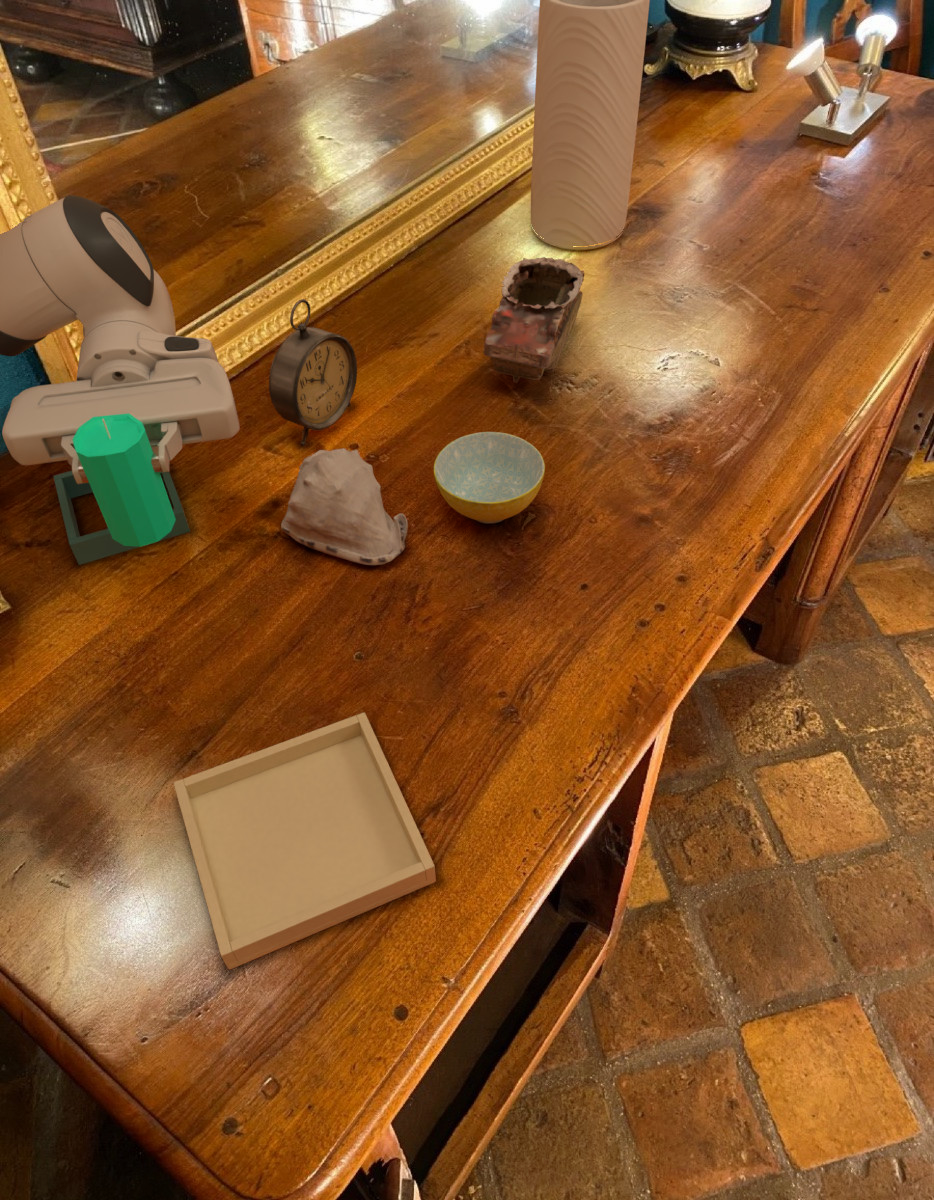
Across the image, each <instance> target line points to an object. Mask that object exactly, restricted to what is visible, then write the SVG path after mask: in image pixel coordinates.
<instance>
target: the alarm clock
mask: <svg viewBox="0 0 934 1200" xmlns="http://www.w3.org/2000/svg"><path fill="white" fill-rule="evenodd" d="M302 303H304V304H305V305H306V307H307V308H306V309H307V316H306V319H305V322H300V323H299V324H298V325H297V327H296V326H295V324H294V315H295V311H296V308H297V307H298V306H299V305H300V304H302ZM310 318H311V306H310V303H309V301H308V300H307V299H304V298H302V299H299V300H298V301H296V302H295V304H294V305H293V307H292V309H291V311H290V316H289V322H290V326H291V328H292V329H293V330H295V331H294V332H292V333H290V335H288V337H286V339H284V340H283V342H282V343H281V344H280V346H279V347H278V349H277V351H276V352H275V355H274V357H273V359H272V362H271V366H270V369H269V377H268V390H269V391H268V392H269V396H270V400H271V403H272V405H273V408H274V409H275V411H276V412H277V414H278V415H279V416H280V417H281V418H282V419H284V420H285V421H287V422H290V423H293V424H295V425H298V426H301V427H302V431H301V441H300V446H301V447H305V446H306V445H307V442H306V440H307V439H308V436H309V432H310V430H311V431H322V430H326V429H327V428H330V427H331V426H332V425H334V424H335V423H336V422H338V420H339V419H340V418H341V417H342V416H343V414H344V413H345V412H346V410H347V409H348V408H350V407H351V400H352V398H353V395H354V394H355V389H356V386H357V379H358V363H357V357H356V354H355V351H354V347H353V346H352V344H351V343H350V341H349V340H348V339H347V338H346V337H344V336H343V335H341V334H338V333H333V332H330V331H327V330H324V329H321V328H317V327H313V326H307V324H308V323H309V321H310Z"/></svg>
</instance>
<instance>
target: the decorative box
mask: <svg viewBox="0 0 934 1200" xmlns="http://www.w3.org/2000/svg"><path fill="white" fill-rule="evenodd" d="M580 269H581V268H579V267H578V266H577V265H575V264H574V263H572V262H569V261H565V260H564V259H561V258H557V259H556V258H554V257H545V256H543V257H536V258H530V259H528V258H525V257H523V259H522V260H520V261H517V262H515V263H514V264H512V265H510V268H509V271H507V272H506V275H504V276H503V280H502V281H501V284H502V285H501V295H502V297H501V300H500V301H499V305H498V308H496V309H495V310H494V312H493V313H492V317H491V323H490V330H488V332H487V333H486V334H485V336H486V337H485V339H484V346H483V351H482V352H483V353H482V354H483V355H484V356H486V357H489V358H490V361H491V362H492V364H493V367H494V369H495V372H497V373H499V374H503V375H507V376H512V381H513V382H514V383H518V382H519V380H520V379H521V378H522V379H527V380H531V381H539V380H541V378H542V377H543V375H544V372H548V373H553V372H554V371H555V369H556V367H557V365H558V362H559V360H560V358H561V355H562V353H563V350H564V349H565V347H566V343H567V341H568V339H569V336H570V334H571V332H572V330H573V328H574V326H575V325H574V324H575V323H576V320H577V316H578V313H579V310H580V307H581V304H582V299H583V291H581V287H582V286H583V282H584V278H585V270H580Z"/></svg>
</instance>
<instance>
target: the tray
mask: <svg viewBox="0 0 934 1200" xmlns="http://www.w3.org/2000/svg"><path fill="white" fill-rule="evenodd" d="M399 786H400V785H399V784H398V782H397V780H396V777H395V776H394V773H393V771H392V768H391V767H390V765H389V762H388V760H387V758H386V755H385V754H384V751H383V749H382V747H381V744H380V742H379V740H378V737H377V736H376V734H375V731H374V729H373V727H372V725H371V722H370V721H369V718H368V716H367V714H366V712H365V711H364V712H361V713H358V714H355V715H353V716H349V717H348V718H345V719H342V720H339V721H337V722H333V723H331V724H328V725H326V726H323V727H321V728H320V727H319V728H317V729H315V730H312V731H309V732H306V733H304V734H300V735H298V736H295V737H293V738H290V739H287V740H285V741H282V742H279V743H277V744H274V745H271V746H268V747H266V748H263V749H261V750H258V751H254V752H252V753H249V754H247V755H244V756H241V757H238V758H235V759H232V760H230V761H228V762H225V763H222V764H220V765H217V766H214V767H211V768H208V769H206V770H203V771H200V772H198V773H195V774H192V775H190V776H187V777H185V778H181V779H179V780H175V781H173V787H174V790H175V791H174V792H175V794H176V798H177V801H178V805H179V809H180V813H181V816H182V820H183V823H184V827H185V830H186V834H187V838H188V841H189V845H190V849H191V852H192V857H193V859H194V863H195V866H196V870H197V874H198V877H199V882H200V885H201V889H202V892H203V896H204V900H205V903H206V907H207V910H208V914H209V918H210V921H211V925H212V928H213V931H214V935H215V940H216V944H217V947H218V950H219V954H220V957H221V958H222V960H223V962H224V964H225V966H226V967H227V969H228V970H229V971H230V970H233V969H234V968H235V969H236V968H237V967H240V966H242V965H244V964H246V963H249V962H251V961H253V960H256V959H258V958H261V957H263V956H266V955H267V954H270V953H272V952H274V951H277V950H280V949H281V948H284V947H286V946H289V945H291V944H294V943H296V942H298V941H300V940H303V939H305V938H308V937H310V936H312V935H314V934H317V933H319V932H321V931H324V930H327V929H329V928H332V927H333V926H336V925H338V924H340V923H343V922H345V921H347V920H350V919H352V918H354V917H356V916H359V915H361V914H364V913H366V912H369V911H370V910H373V909H376V908H377V907H380V906H382V905H385V904H387V903H390V902H393V901H394V900H397V899H400V898H401V897H405V896H406V895H409V894H411V893H413V892H416V891H417V890H418V891H419V890H420V889H423V888H425V887H428V886H429V885H432V884H434V883H436V882H437V878H436V867H435V864H434V861H433V859H432V856H431V855H430V852H429V850H428V848H427V846H426V843H425V841H424V839H423V837H422V835H421V832H420V830H419V828H418V825H417V824H416V822H415V820H414V817H413V814H412V813H411V811H410V809H409V806H408V804H407V802H406V800H405V798H404V797H405V796H404V795H403V792H402V791H401V788H400V787H399Z"/></svg>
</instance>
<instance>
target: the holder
mask: <svg viewBox="0 0 934 1200" xmlns="http://www.w3.org/2000/svg"><path fill="white" fill-rule="evenodd" d="M160 475H161V478H162V480H163V483H164V486H165V489H166V492H167V494H168V497H169V500H170V503H171V506H172V510H173V513H174V516H175V519H176V521H175V523H174V525H173V528H172V530H171V532H170V533H168V534H167V535H166V536H164V537H163V538H162V539H161V540H159V541H158V542H162V541H165V540H168V539H172V538H175V537H179V536H181V535H185V534H188V533H190V532H191V530H190V529H191V528H190V526H189V524H188V520H187V518H186V515H185V514H186V513H185V511H184V508H183V505H182V503H181V499H180V497H179V494H178V491H177V489H176V485H175V483H174V480H173V478H172V475H171V472H170V471H169V472H161V473H160ZM53 480H54V485H55V490H56V493H57V498H58V501H59V506H60V511H61V515H62V520H63V523H64V527H65V531H66V536H67V541H68V545H69V547H70V549H71V551H72V553H73V555H74V558H75V559H76V562H77V564H78V565H79V566H81V565H84V564H85V565H86V564H88V563H92V562H94V561H98V560H100V559H101V560H102V559H105V558H108V557H112V556H114V555H118V554H121V553H125V552H127V551H128V552H129V551H132V550H135V549H138V548H139V547H136V546H124V545H122V544H120V543H119V542H117V541H115V540H114V539H113V538H112V536H111V534H110V531H109V529H108V528H105V529H101V530H98V531H95V532H94V531H93V532H90V533H88V534H84V535H81V534H80V530H79V526H78V523H77V518H76V514H75V509H74V506H73V501H72V499H74V498H78V497H82V496H86V495H89V494H92V493H93V491H92V488H91V486H90V484H89V483H82V484H77V482H76V480H75V478H74V475H73V472H72V470H70V471H65V472H62V473H58V474H55V475H53Z"/></svg>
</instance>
